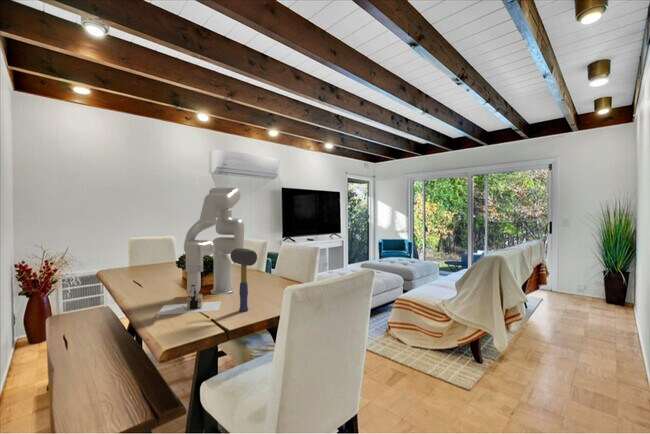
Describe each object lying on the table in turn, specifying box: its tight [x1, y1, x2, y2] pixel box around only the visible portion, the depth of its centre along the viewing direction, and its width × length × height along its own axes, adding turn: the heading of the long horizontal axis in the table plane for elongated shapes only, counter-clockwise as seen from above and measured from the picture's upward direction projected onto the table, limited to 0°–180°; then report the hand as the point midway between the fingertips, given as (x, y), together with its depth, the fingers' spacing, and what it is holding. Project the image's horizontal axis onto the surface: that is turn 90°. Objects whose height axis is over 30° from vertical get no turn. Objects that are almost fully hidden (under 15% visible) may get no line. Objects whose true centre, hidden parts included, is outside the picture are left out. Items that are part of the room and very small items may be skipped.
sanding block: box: [186, 293, 203, 309], centre depth 142 cm, size 5×6×5 cm
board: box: [155, 300, 222, 319], centre depth 142 cm, size 14×26×2 cm, turn 105°
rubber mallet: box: [230, 247, 258, 313], centre depth 138 cm, size 12×8×30 cm, turn 48°
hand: (194, 306), depth 142 cm, fingers closed on sanding block, 5 cm apart
